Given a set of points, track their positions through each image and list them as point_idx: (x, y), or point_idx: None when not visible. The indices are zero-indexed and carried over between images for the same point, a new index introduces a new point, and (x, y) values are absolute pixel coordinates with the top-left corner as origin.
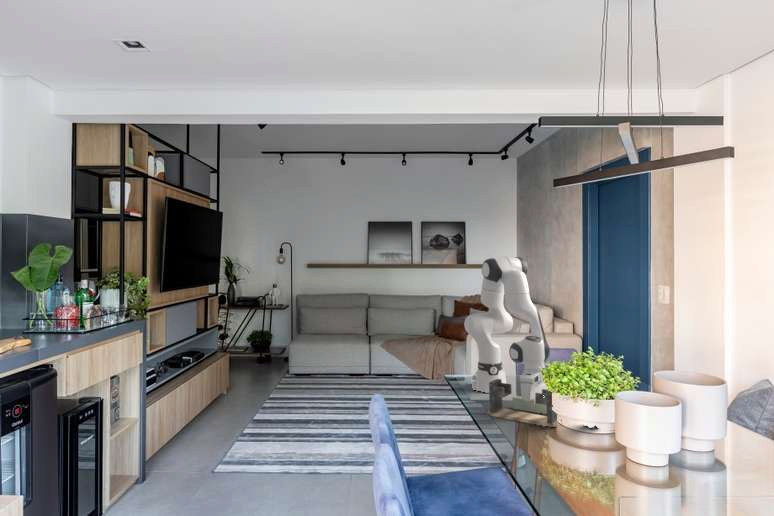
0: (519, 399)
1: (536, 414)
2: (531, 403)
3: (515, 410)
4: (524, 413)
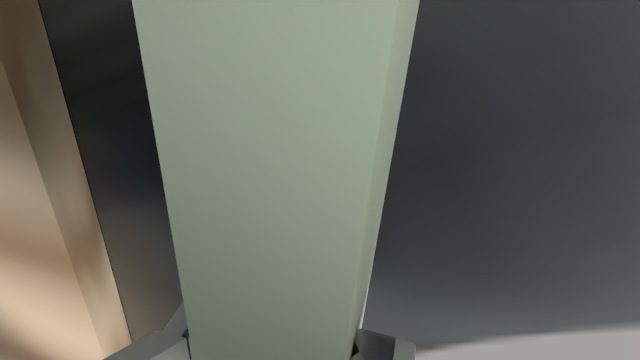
0: (178, 138)
1: (86, 320)
2: (150, 345)
3: (2, 75)
4: (12, 213)
